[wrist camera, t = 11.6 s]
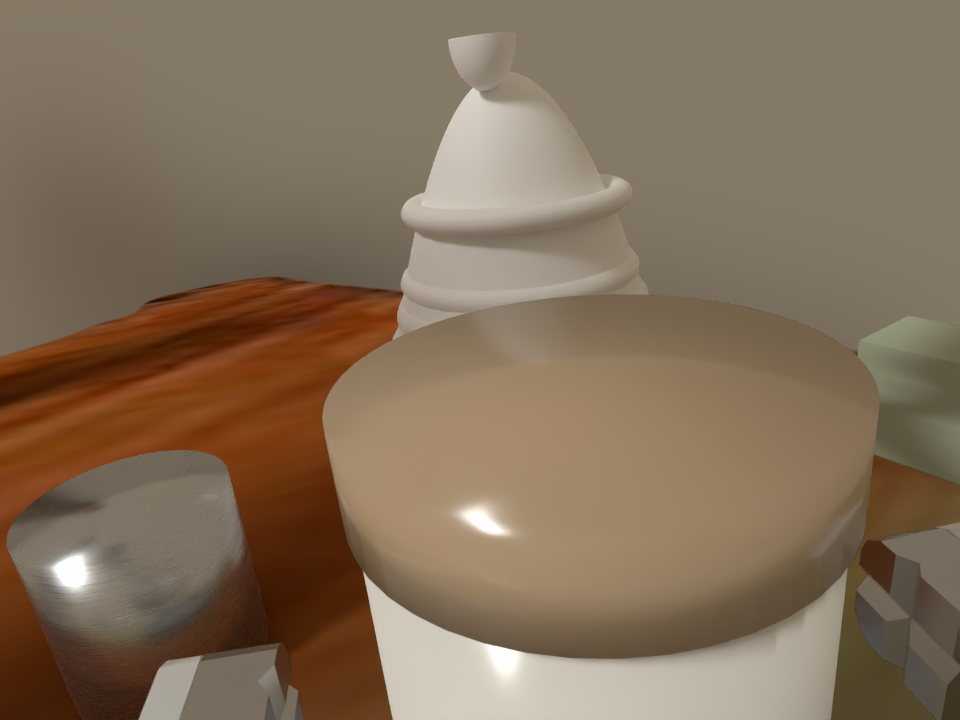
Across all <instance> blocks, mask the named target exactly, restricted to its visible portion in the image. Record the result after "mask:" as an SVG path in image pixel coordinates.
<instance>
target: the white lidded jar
mask: <svg viewBox="0 0 960 720" xmlns="http://www.w3.org/2000/svg"><path fill="white" fill-rule="evenodd" d="M879 403H880V395H879V391H878V387H877V383H876V380H875V379H874V377H873V375H872V374H871V372H870V371H869V369H868V367H867V366H866V365H865V364H864V363H863V362H862V361H861V360H860V359H859V358H858V357H857V356H856V355H855V354H854V353H853V352H852V351H851V350H849V349H848V348H846V347H845V346H843V345H842V344H841V343H839V342H838V341H836V340H835V339H833V338H831V337H829V336H827V335H825V334H823V333H822V332H820V331H818V330H815V329H813V328H811V327H809V326H806V325H804V324H801V323H799V322H797V321H794V320H790V319H787V318H785V317H781V316H779V315H775V314H772V313H769V312H764V311H760V310H757V309H753V308H749V307H744V306H739V305H734V304H729V303H723V302H717V301H710V300H703V299H696V298H685V297H675V296H659V295H632V294H611V295H584V296H568V297H558V298H548V299H539V300H532V301H525V302H518V303H512V304H507V305H501V306H496V307H491V308H487V309H482V310H478V311H473V312H469V313H466V314H462V315H458V316H455V317H451V318H447V319H444V320H441V321H438V322H435V323H432V324H429V325H426V326H424V327H421V328H419V329H416V330H414V331H411V332H409V333H406V334H404V335H402V336H400V337H398V338H396V339H394V340H392V341H390V342H387V343H386V344H384V345H382V346H380V347H379V348H377V349H375V350H374V351H372V352H370V353H369V354H367V355H366V356H364V357H363V358H362V359H360V360H359V361H358V362H356V363H355V364H354V365H352V366H351V367H350V368H349V369H348V370H347V371H346V372H345V373H344V374H343V375H342V376H341V377H340V378H339V380H338V381H337V382H336V384H335V385H334V386H333V387H332V389H331V391H330V393H329V395H328V397H327V399H326V401H325V404H324V410H323V416H322V420H323V427H324V434H325V438H326V443H327V448H328V453H329V458H330V463H331V467H332V472H333V477H334V482H335V487H336V492H337V496H338V501H339V506H340V511H341V516H342V521H343V525H344V530H345V535H346V540H347V542H348V544H349V547H350V549H351V552H352V554H353V556H354V559H355V560H356V562H357V563H358V564H359V566H360V567H361V569H362V570H363V573H364V578H365V583H366V588H367V593H368V598H369V603H370V608H371V613H372V618H373V623H374V628H375V633H376V638H377V643H378V648H379V653H380V658H381V663H382V668H383V673H384V678H385V683H386V688H387V693H388V698H389V703H390V708H391V713H392V718H393V720H831V713H832V704H833V695H834V686H835V677H836V668H837V660H838V651H839V642H840V633H841V624H842V615H843V606H844V597H845V588H846V579H847V570H848V566H849V565H850V563H851V562H852V561H853V559H854V558H855V556H856V554H857V551H858V549H859V546H860V544H861V541H862V538H863V536H864V531H865V523H866V514H867V506H868V498H869V489H870V481H871V473H872V464H873V456H874V448H875V439H876V431H877V423H878V414H879Z"/></svg>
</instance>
